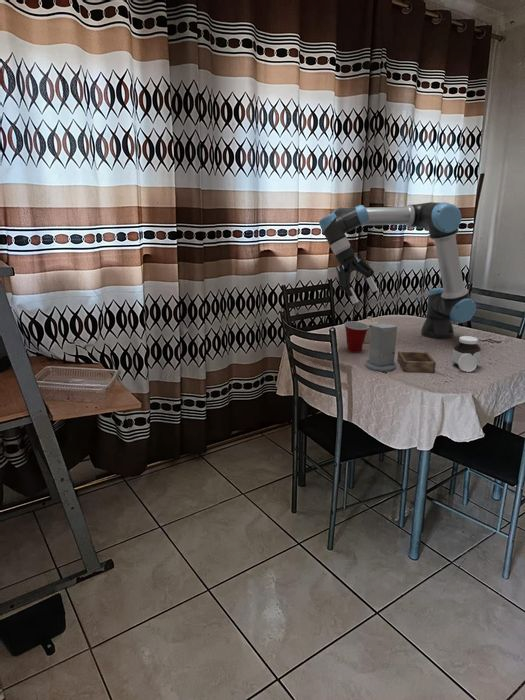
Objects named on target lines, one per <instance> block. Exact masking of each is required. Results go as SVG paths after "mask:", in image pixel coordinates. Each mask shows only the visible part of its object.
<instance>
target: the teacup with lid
mask: <svg viewBox="0 0 525 700" xmlns="http://www.w3.org/2000/svg"><path fill="white" fill-rule="evenodd" d="M359 322H361V323H365V324H367V325H369V328H368V329H367V332H366V335H365V339H364V343H363V344H370V341H371V325H377V324H380V323H379V322H378V321H377V320H374V319H373V318H372V316H367V317H366V318H365V319H362V320H360V321H359Z"/></svg>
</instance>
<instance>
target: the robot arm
mask: <svg viewBox="0 0 525 700" xmlns="http://www.w3.org/2000/svg"><path fill="white" fill-rule="evenodd" d="M461 223H462V213H461V211H460V209H459V207H457V206H456V205H455V204H453V203H450V202H445V201H443V202H431V201H430V202H423V203H416V204H415V203H414V204H407V205H406V206H393V207H392V206H390V207H389V206H384V207H383V206H382V207H381V206H380V207H379V206H378V207H377V206H376V207H365V206H364V205H363V204H359V205H357V206H355V207H341V206H340V207H337V208H335V209H334V210H333V211H332V212H331V213H329V214H327V215H325V216H324V217H322V218H321V219H320V220H319V222H318V224H319V226H320V229H321V231H322V233H323V235H324V238H325V240H326V241H327V242H328V245H329V246H330V249H331V251H332V253H333V254H334V256H335V259H336V261H337V263H338V264H340V265H337V266H336V268H335V269H336V271H337V275H338V284H339V289H340V291H344V292H346V295H347V297H348V298H350V302H351V303H352V305H355V304H356V303H359V299H358V297H357V295H356V293H355V291H354V290H353V287H352V286H351V284H350V283H351V274H352V272H354V271H356V272H358V273H359V274H360V275H362V276H364V277H365V278H366V282H367V284H368V286H369V288H370V289H371V293H375V292H377V291H379V288H378V286H377V284H376V281H375V279H374V273H375V271H374V269H373V268H372V267H371V266H370V265H369V264H367V263H366V261H364V259H363V258H362V256H361V255H357V256H356V257H355V255H356V253H355V251H354V250H353V247H351V243H350V241H349V239H348V237H347V235H346V233H348V232H351V231H352V230H354V229H356V228H358V227H360V226H392V225H393V226H399V225H401V226H402V225H403V226H404V225H405V227H407V228H410V227H411V228H413V227H414V228H420V229H424V230H427V231H428V233H429V238H430V240H432V241H433V242H434V246H435V250H436V257H437V262H438V267H439V273H440V278H441V282H442V287H435V288H431V289H429V291H428V295H427V296H428V300H427V308H426V309H427V310H426V318H425V319H424V320H425V321H424V322H423V325H422V326H421V330H420V335H422V336H423V337H427V338H432V339H437V340H441V339H443V340H445V339H451V338H453V337H454V334H455V331H454V327H453V325H454V324H453V322H454V323H458V324H463V323H466V322H468V321H470V320H471V319H473V316H475V313H476V312H477V311H476V310H477V304H476V302H475V301H474V300H473V299H472V298H470V293H469V289H468V288H466V287H465V286H464V285H465V284H464V280H463V274H462V266H461V263H460V256H459V249H458V244H457V239H456V236H457V234H458V233H459V227H460V224H461Z"/></svg>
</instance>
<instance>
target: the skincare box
mask: <svg viewBox="0 0 525 700" xmlns="http://www.w3.org/2000/svg"><path fill="white" fill-rule="evenodd" d="M397 330H398V326H397V325H393V324H389V323H379V324H377V325H371V341H370V343H369V344H370V346H369V355H368V356H369V358H368V360H369V362H370V363H372V364H374V365H377V366H378V367H381V366H386V365H390V364H394V362H395V359H396V358H395V356H396V343H397V332H398V331H397Z"/></svg>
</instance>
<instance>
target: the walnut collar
mask: <svg viewBox="0 0 525 700" xmlns="http://www.w3.org/2000/svg"><path fill="white" fill-rule="evenodd" d="M396 361H397V363H398V364H400V365H399V366H400V368H401V370H402V371H403V372H404V373H406V372H408V373H409V372H410V373H435V372H436V367H437V366H436V364H437V362H436V361H435V360H434V358H433V357H432V355H430V353H429V352H428V351H397V360H396Z"/></svg>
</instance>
